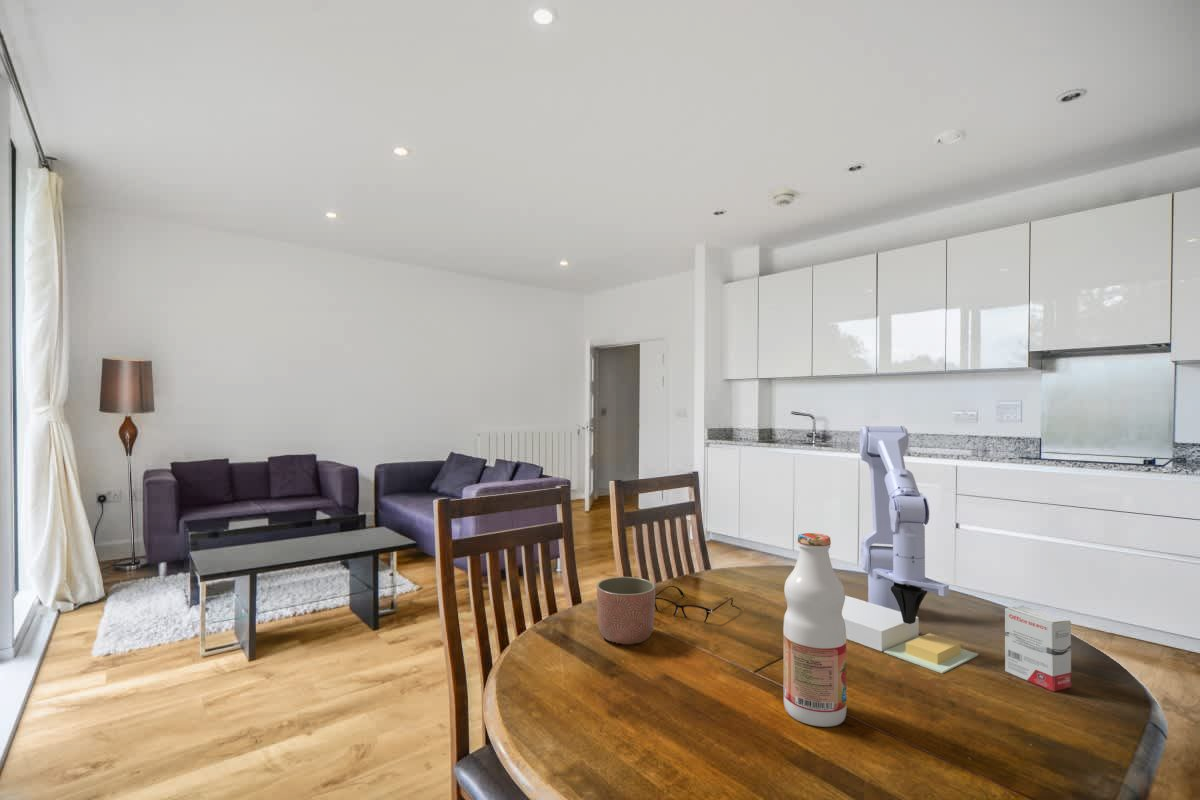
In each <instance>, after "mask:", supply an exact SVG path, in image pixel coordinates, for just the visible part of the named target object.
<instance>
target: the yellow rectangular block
mask: <svg viewBox="0 0 1200 800" xmlns="http://www.w3.org/2000/svg"><path fill="white" fill-rule="evenodd" d="M920 636H921V637H919V636H918V637H919V638H917V639H914V638H913V639H914V640H912V641H909V640H908V641H909V642H907V641H906V642H907V643H906V653H907V654H909V655H912V656H915V657H918V658H921V659H923V660H926V661H929V662H932V663H935V664H937V665H938V664H940V663H942V662H944V661H946V660H948V659H950V658H952V657H954V656H956V655H958V654H961V649H962V646H961V645H962V643H961V642H959V641H955V640H952V639H949V638H945V637H943V636H940V635H938V634H937V635H936V634H933V633H930V632H929V633H927V634H925V635H920Z"/></svg>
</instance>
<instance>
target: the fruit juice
mask: <svg viewBox="0 0 1200 800" xmlns="http://www.w3.org/2000/svg"><path fill="white" fill-rule="evenodd" d="M831 543H832V542H831V536H829V535H826V534H822V533H815V532H803V533H800V534H798V537H797V545H798V547H799V553H798V556H797V557H798V558H797V560H796V562H795V565H794V568H793V570H792V571H791V573H789V575H788V576H787V578H786V580H785V582H784V586H783V587H784V589H783V590H784V591H783V592H784V597H785V602H786V605H787V608H786V611H785V613H784V615H783V624H782V626H783V629H782V630H783V631H782V633H783V651H782V652H783V654H782V655H783V705H784V710H785V712H786V713H787V714H788V715H789V716H790V717H791V718H793V719H794V720H796V721H798V722H800V723H803V724H806V725H808V726H809V725H810V726H813V727H822V728H829V727H830V728H831V727H835V726H838V725H841V724H842V723H843V722H844V721H845V720H846V717H847V639H846V625H845V621H844V619H843V616H842V609H843V606H844V602H845V595H846V592H845V587H844V585H843V583H842V581H841V580H840V579H839V577H838V576H837V575H836V572H835V571H834V568H833V564H832V562H831V559H830V552H829V549H831Z"/></svg>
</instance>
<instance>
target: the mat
mask: <svg viewBox="0 0 1200 800" xmlns="http://www.w3.org/2000/svg"><path fill="white" fill-rule="evenodd" d="M921 636H922V635H919V636H918V637H915V638H913V639H911V640H908V641H906V642H903V643H901V644H899V645H896V646H894V647H891V648H889V649H886V650H884V651H883V653H885V654H887V655H890V656H893V657H895V658H899V659H900V660H901V659H902V661H903V660H904V661H906V662H910V663H912V664H915V665H918V666H921V667H923V668H925V669H929V670H931V671H934V672H937V673H940V674H944V673H946V672H949V671H951V670H952V669H954V668H956V667H958V666H961V665H963V664H965V663H967V662H968V661H970V660H972V659H974V658H976V657H978V656H979V653H976V652H974V651H970V650H967V649H964V648H961V654H958V655H956V656H954V657H952V658H950V659H948V660H946V661H944V662H942V663H940V664H938V665H937V664H935V663H932V662H929V661H926V660H923V659H921V658H918V657H915V656H912V655H909V654H907V653H906V643H907V642H909V641H912V640H914V639H917V638H919V637H921Z"/></svg>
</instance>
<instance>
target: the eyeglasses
mask: <svg viewBox="0 0 1200 800" xmlns="http://www.w3.org/2000/svg"><path fill="white" fill-rule="evenodd" d="M668 588H675V589H677V591H678V592H679V594H680V596H681V595H683V594H684V595H685V593H684V591H682V590H681V589H680V587H677V586H676V585H675V586H674V585H669V586H666V587H664V588H663V589H662V590H660V591H659V592H658V593H657V594H656V593H655V610H656V612H657V611H659V609H658V607H657V603H656V600H660V601H661V600H662V601H665V602H668V603H671V604H673V605H675V611H674V613H673V614H672V615H674V616H675V615H676V613H678V612H679V608H680V609H681V611H682V612H681V613H682V614H683V616H684V618H685V619H686V618H688V616H687V614H686V612H685V609H684V608H686V607H692V608H693V607H694V608H698V609H702V610H704V611H706V616H705V618H704V620H703V622H705V623H706V621H707V620H708V617H709V614H711V613H713V612H714V611H716V610H718V608H720V607H722V606H723V605H724V604H726V603H728V601H730V600H731V601H730V606H731V605H732V606H733V602H734V601H733V597H730V598H729V599H727V600H726V601H724V602H723V603H721V604H719V605H718V606H716V607H715V608H713V609H709V608H707V607H704V606H701V605H697V604H696V605H694V604H678V603H677V602H674V601H673V600H670V599H668V598H664V597H659V596H658V595H659V594H661V593H662V592H664V591H665V590H666V589H668ZM684 595H683V596H684Z"/></svg>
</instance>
